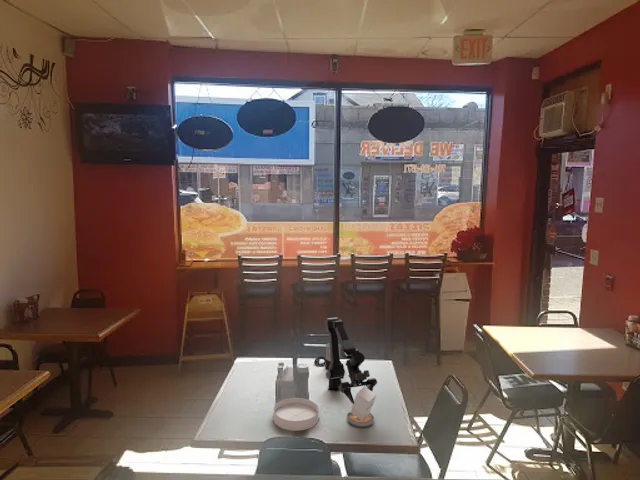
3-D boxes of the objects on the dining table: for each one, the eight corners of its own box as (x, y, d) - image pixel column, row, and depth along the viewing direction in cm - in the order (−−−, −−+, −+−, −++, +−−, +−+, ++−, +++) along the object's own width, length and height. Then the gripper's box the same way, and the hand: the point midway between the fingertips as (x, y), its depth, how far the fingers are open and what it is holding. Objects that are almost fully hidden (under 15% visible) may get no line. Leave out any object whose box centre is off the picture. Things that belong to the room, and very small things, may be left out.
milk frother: (340, 372, 275) (341, 348, 273) (314, 371, 275) (314, 347, 273) (339, 362, 289) (340, 339, 287) (314, 361, 289) (314, 338, 287)
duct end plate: (345, 426, 218) (345, 421, 217) (348, 411, 230) (348, 408, 230) (372, 429, 215) (373, 425, 215) (374, 415, 228) (374, 411, 228)
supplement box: (362, 421, 218) (369, 402, 213) (349, 412, 222) (356, 393, 216) (370, 413, 224) (377, 394, 218) (357, 404, 227) (364, 385, 222)
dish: (328, 419, 224) (328, 409, 223) (294, 436, 208) (294, 426, 207) (297, 402, 239) (297, 393, 238) (263, 417, 223) (263, 407, 223)
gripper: (341, 367, 219) (349, 399, 211) (376, 362, 225) (386, 394, 217) (334, 375, 228) (342, 407, 219) (368, 370, 234) (377, 401, 225)
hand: (362, 402), depth 220 cm, fingers closed on supplement box, 9 cm apart
